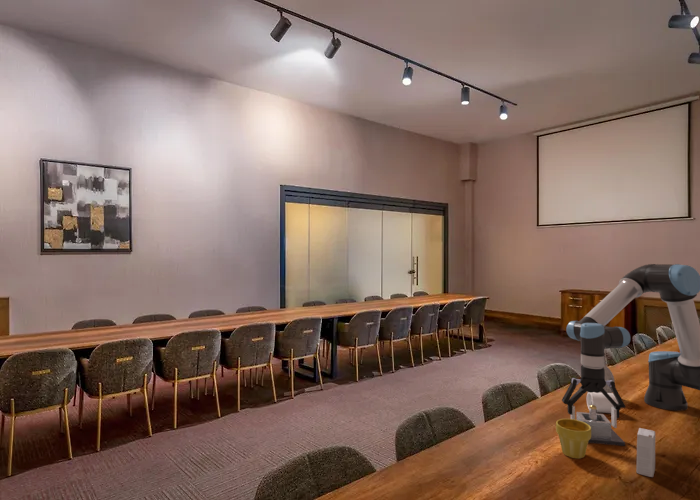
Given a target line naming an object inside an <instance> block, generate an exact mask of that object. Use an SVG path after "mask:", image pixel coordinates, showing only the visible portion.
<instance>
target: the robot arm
mask: <svg viewBox="0 0 700 500" xmlns="http://www.w3.org/2000/svg"><path fill="white" fill-rule="evenodd" d="M651 292H652V293H658V294H659V296H660V297H659V298H660V299H661V301H662V302H664V303H666V306H667V308H668V312H669V316H670V319H671V323H672V327H673V331H674V333H675V338H676V343H677V346H678V348H679V352H678V351H668V350H667V351H666V350H665V351H664V350H662V351H661V350H660V351H659V350H658V351H651V352H650V353H649V355H648V361H647V363H648V387H647V389H646V391H645V394H644V399H643V401H644V402H645V404H647V405H648V406H652V407H654V408H658V409H661V410H668V411H678V412H679V411H680V412H681V411H686V410H688V405H689V404H688V402H687V398H686V396H685V393H684V390H683V387H685V388H686V387H687V388H691V389H693V390H697V391H700V319H699V316H698V312H697V308H696V304H695V301H694V300H695V299H696V298H697V296H698V294H699V292H700V274H699V272H698V270H696V268H694V267H692V266H691V265H689V264H688V265H687V264H686V265H685V264H680V263H674V264H668V263H667V264H659V263H657V264H656V263H648V264H644V265H640V266H639V267H636V268H635V269H632V270H631V271H630V272H628V273H627V274H625V275H623V277H622V278H620V280H619V281H618V285H617V286H616V287H615V288H613V289H612V290H611V291H610V292H609V293H608V294H607V295H606V296H605V297H603V298H602V299H601V300H600V301H599V302H598V303H597V304H596V305H595V306H594V307H593V308H592V309H591V310H590V311H589V312H588V313H586V314H585V316H583V318H581V319H580V320H579V321H578V320H571V321H568V324H567V325H566V334H567V336H568V337H569V338H570V339H573V340H574V341H577V342H580V364H581V365H580V379H579V378H575V377H572V378H571V379H570V380H571V381H570V384H569V386H568V388H567V390H566V391H565V393H564V395H563V396H562V399H561V401H562V403H563V404H565V405H567V413H568V414H569V415H570V419H575V420H576V406H575V405H574V404H576V402H577V401H579V399H581V397H582V396H583V395H584V394H586V393H588V392H595V393H599V392H600V391H601V392H602V394H603V395H604V396H605V397H606V398H607V399H608V400H609V401H610V402H611V404H612V405H613V406H614V407H611V413H610V415H611V421H610V423H611V427H613V428H615V429H617V428H618V427H617V426H618V424H617V422H618V421H617V419H619V418H620V410H622V409H625V408H626V405H625V403H624V401H623V398H622V397H621V395H620V394H619V392H618V389H617V388H616V383H615V382H614V381H615V380H614V381H612V380H609V381H605V369H604V368H603V367H604V366H605V365H606V363H605V362H606V361H605V350H607V349H620V348H624V347H627V346H628V345H629V344H630V342H631V334H630V332H629V330H628V329H626V328H625V327H622V326H606V325H607V324H609V323H610V321H612V320H613V319H614V317H616V316H617V315H618V314H619V313H620V312H621V311H622V310H623V309H624V308H625V307H626V306H627V305H629V304H630V302H632V301H633V300H634V299H636V298H639V297H641V296H642V295H644V294H646V293H651ZM579 384H580V385H581V386H580V387H579V388H578V390H577V391H576V392H575V393H574V391H575V390H576V387H577V386H578V385H579ZM606 384H607V385H608V386H609V387H610V389H611V390H612V393H613V394H614V396H615V398H616V400H617V401H618V404H617V403H616V402H615V401H614V400H613V399H612V398H611V397H610V396H609V394H608V393H607V392H606V391H605V390H604V389H603V388H604V387H605V385H606ZM587 391H588V392H587ZM573 393H574V394H573Z"/></svg>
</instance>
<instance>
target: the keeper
mask: <svg viewBox="0 0 700 500" xmlns="http://www.w3.org/2000/svg"><path fill="white" fill-rule="evenodd" d="M588 411H589V412H588V413H589V420H593V421H597V414H598V412H597V407H596V406H595V405H590V407H589V409H588ZM588 444H599V445H608V446H609V445H611V446H622V447H626V442H625V441H624V440H623V439H622V438H621V437H620V435H618V433H617V432H616V431H615V430H614V429H612V428H611V439H604V438H594V437H591V439H590V440H589V441H588Z"/></svg>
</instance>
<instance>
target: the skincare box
mask: <svg viewBox="0 0 700 500" xmlns="http://www.w3.org/2000/svg"><path fill="white" fill-rule="evenodd" d="M636 435H637V438H636V472H635V473H637V474H639V475H640V476H641V475H642V476H646V477H649V478H654V474H655V471H656V431H655V430H652V429H646V428H641V427H639V428H638V431H637V434H636Z"/></svg>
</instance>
